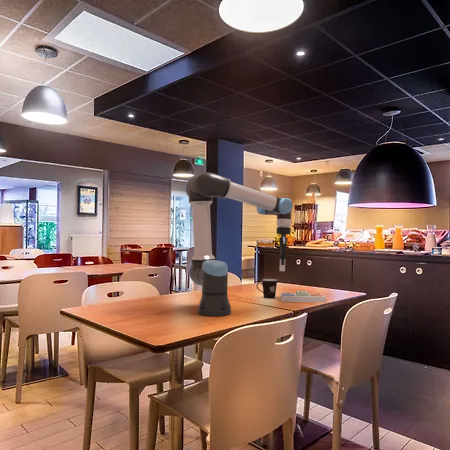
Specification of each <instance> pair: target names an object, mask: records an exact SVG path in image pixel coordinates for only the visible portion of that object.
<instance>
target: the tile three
mask: <svg viewBox="0 0 450 450" xmlns="http://www.w3.org/2000/svg"><path fill="white" fill-rule="evenodd" d="M309 294H310V296H323V295H324V294H323V293H321V292H319V293H318V292H317V293H316V292H315V293H314V292H310V293H309ZM322 294H323V295H322Z"/></svg>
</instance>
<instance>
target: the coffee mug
mask: <svg viewBox="0 0 450 450" xmlns="http://www.w3.org/2000/svg"><path fill="white" fill-rule="evenodd" d="M259 284H261V285H262V290H261V289H259V287H258V286H259ZM277 285H278V279H274V278H270V279H269V278H264V279H262V280H261V282H258V283H256V289H257V290H258V291H259V292H261V293H263V298H264V299H269V300H271V299H275V298H276V293H277V287H278V286H277Z"/></svg>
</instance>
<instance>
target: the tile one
mask: <svg viewBox="0 0 450 450" xmlns="http://www.w3.org/2000/svg"><path fill="white" fill-rule="evenodd" d="M281 293H282V295H283V296H295V295H294V292H281Z"/></svg>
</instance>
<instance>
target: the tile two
mask: <svg viewBox="0 0 450 450" xmlns="http://www.w3.org/2000/svg"><path fill="white" fill-rule="evenodd" d="M295 292H296V295H297V296H309V294H310V293H309V291H308V290H295Z"/></svg>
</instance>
